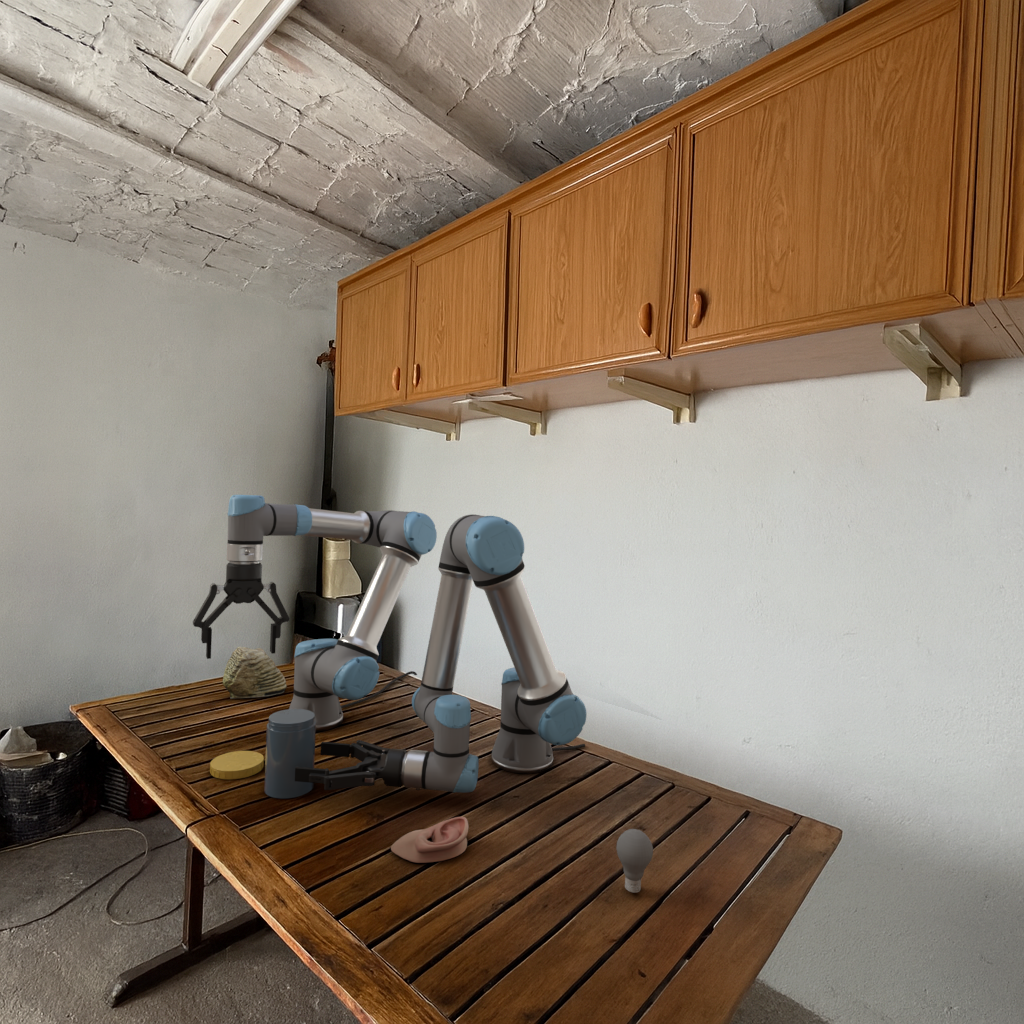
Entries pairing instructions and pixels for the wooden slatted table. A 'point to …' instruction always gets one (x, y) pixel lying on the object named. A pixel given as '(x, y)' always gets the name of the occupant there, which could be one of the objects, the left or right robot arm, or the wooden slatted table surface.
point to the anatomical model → (434, 842)
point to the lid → (236, 765)
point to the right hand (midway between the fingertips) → (308, 760)
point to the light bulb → (634, 857)
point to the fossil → (252, 674)
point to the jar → (289, 752)
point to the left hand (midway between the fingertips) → (241, 654)
